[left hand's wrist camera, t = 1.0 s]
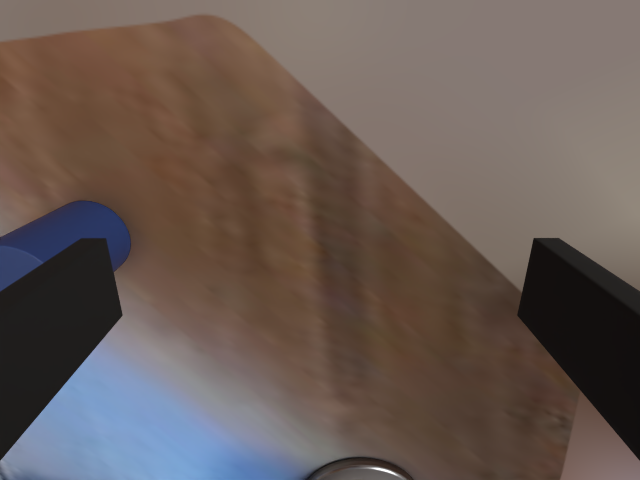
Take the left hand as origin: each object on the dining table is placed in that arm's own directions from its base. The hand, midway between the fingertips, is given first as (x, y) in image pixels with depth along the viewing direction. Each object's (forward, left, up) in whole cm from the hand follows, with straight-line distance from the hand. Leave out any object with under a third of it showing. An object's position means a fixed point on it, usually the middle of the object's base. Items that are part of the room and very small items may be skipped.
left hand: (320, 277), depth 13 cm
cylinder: (-17, +16, -24) cm, 33 cm away
